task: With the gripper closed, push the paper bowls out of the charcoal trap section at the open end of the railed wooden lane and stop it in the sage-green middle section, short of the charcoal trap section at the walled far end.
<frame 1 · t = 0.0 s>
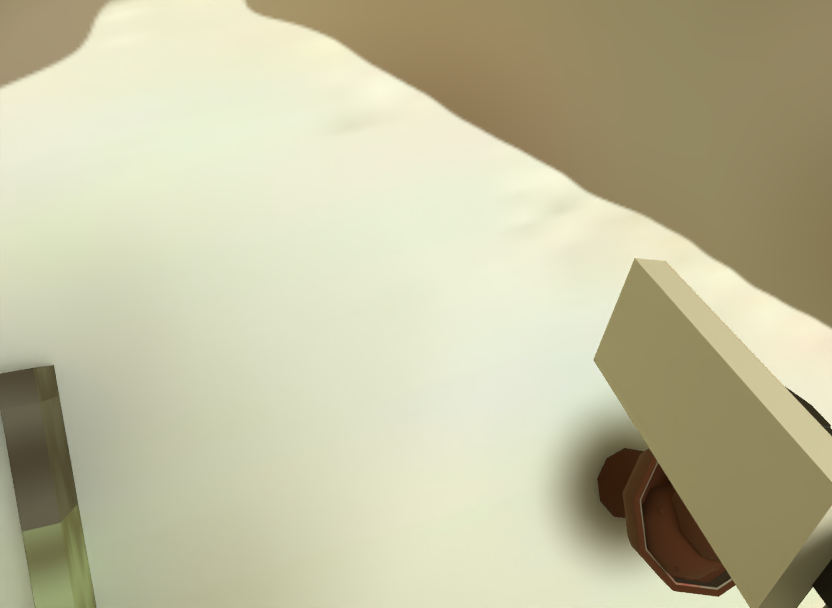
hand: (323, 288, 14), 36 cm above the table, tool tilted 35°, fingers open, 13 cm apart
ice cream bowl: (627, 483, 56), on the table
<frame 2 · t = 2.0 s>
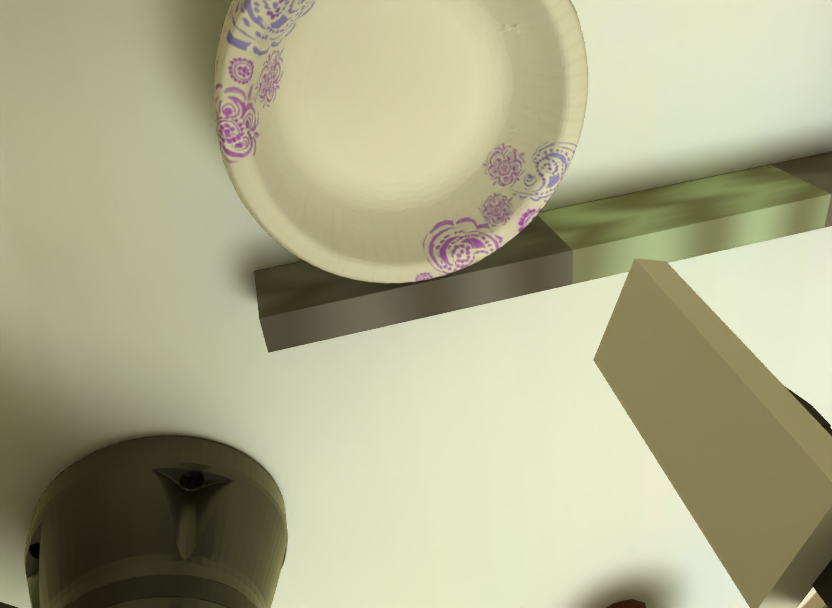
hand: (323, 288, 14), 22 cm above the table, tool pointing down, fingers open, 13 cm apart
trap lane: (605, 36, 36), on the table
paper bowls: (376, 74, 35), on the table
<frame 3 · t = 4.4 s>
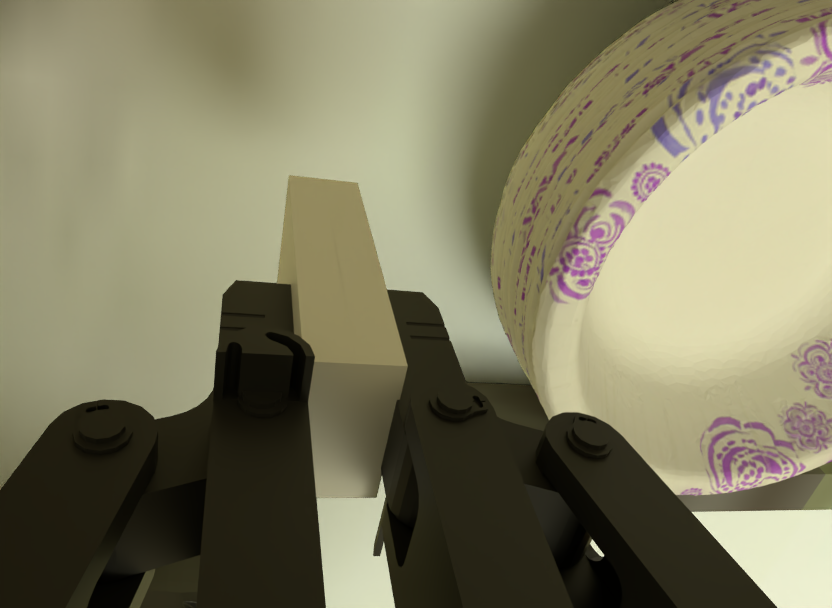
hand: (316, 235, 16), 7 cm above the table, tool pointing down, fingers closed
paper bowls: (668, 186, 25), on the table
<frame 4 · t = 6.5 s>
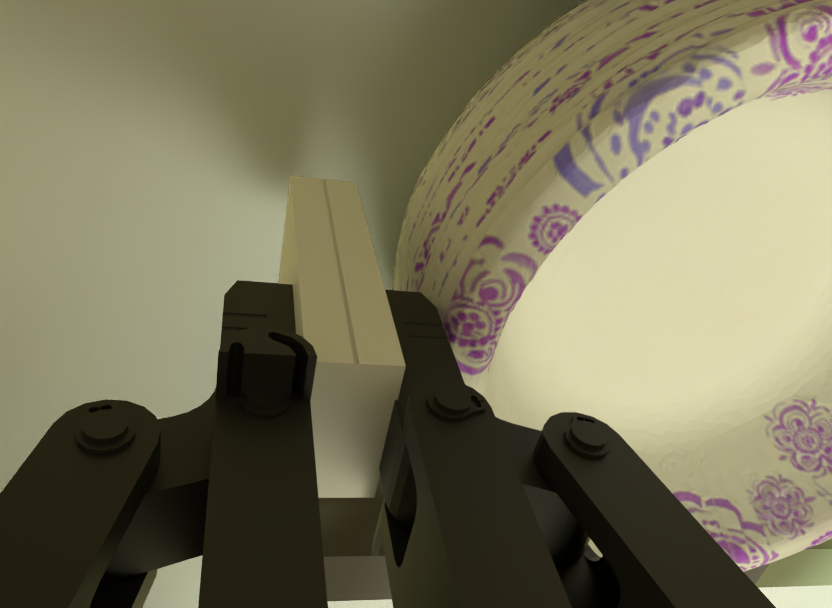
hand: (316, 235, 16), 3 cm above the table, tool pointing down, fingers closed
paper bowls: (622, 211, 21), on the table, touching gripper
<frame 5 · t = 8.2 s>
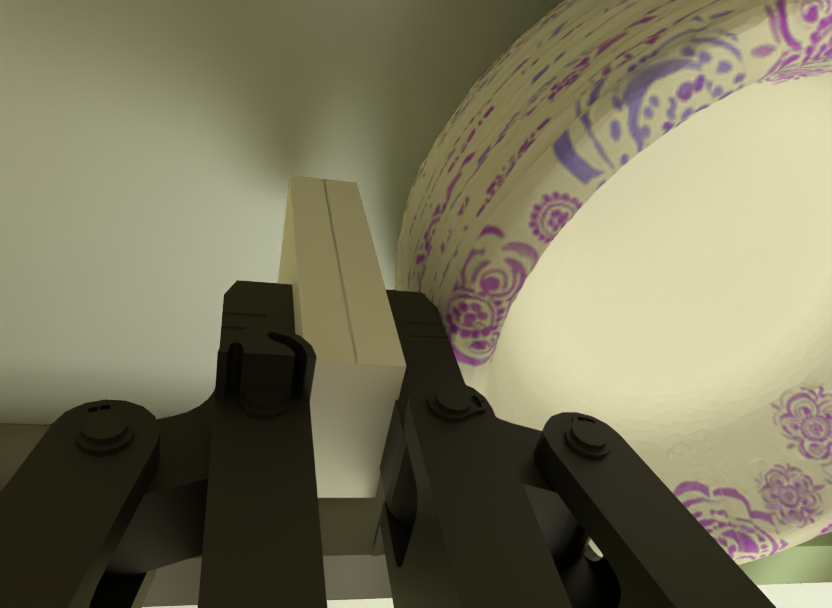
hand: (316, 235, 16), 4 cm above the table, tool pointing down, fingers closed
trap lane: (657, 221, 22), on the table
paper bowls: (625, 201, 21), on the table, touching gripper
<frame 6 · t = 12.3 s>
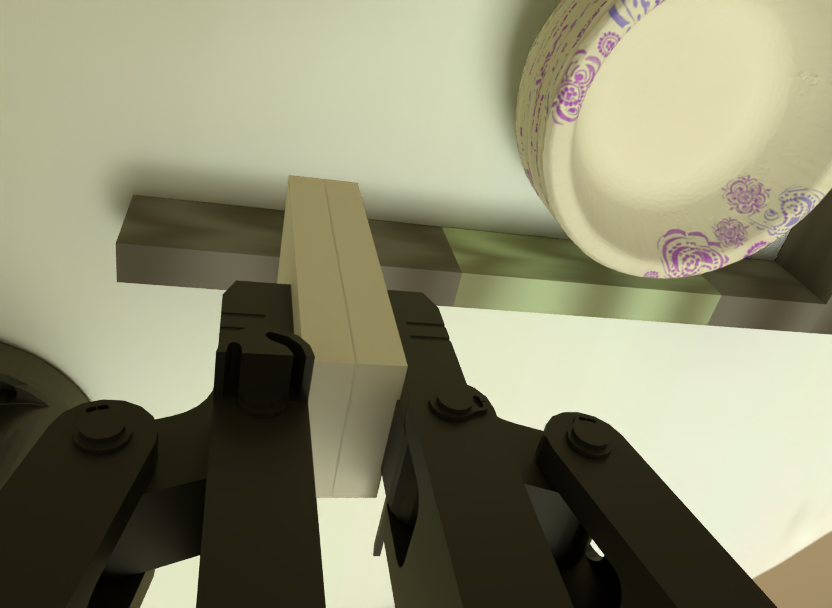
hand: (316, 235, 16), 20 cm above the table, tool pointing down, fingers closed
trap lane: (556, 74, 35), on the table
paper bowls: (638, 78, 37), on the table
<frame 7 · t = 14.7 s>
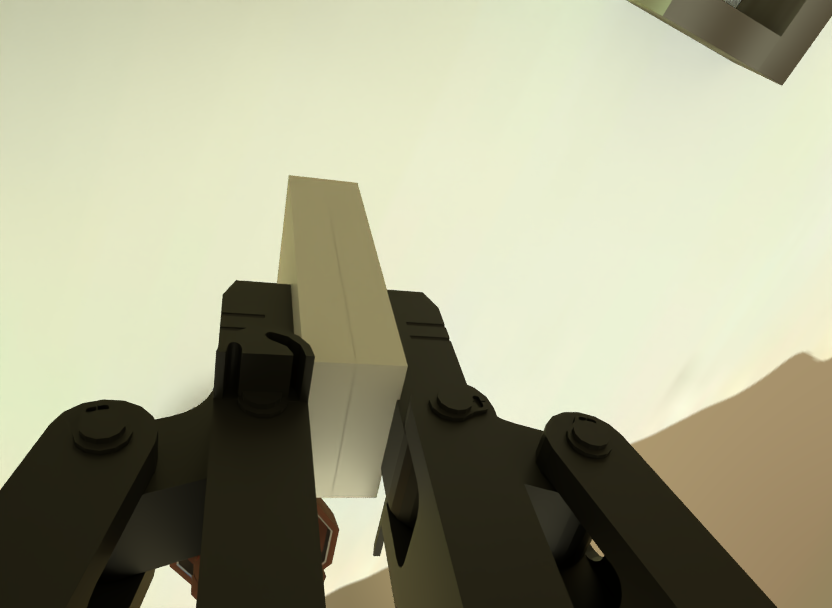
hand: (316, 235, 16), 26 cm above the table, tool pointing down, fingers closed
ice cream bowl: (256, 444, 54), on the table
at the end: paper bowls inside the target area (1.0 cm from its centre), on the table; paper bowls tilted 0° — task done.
